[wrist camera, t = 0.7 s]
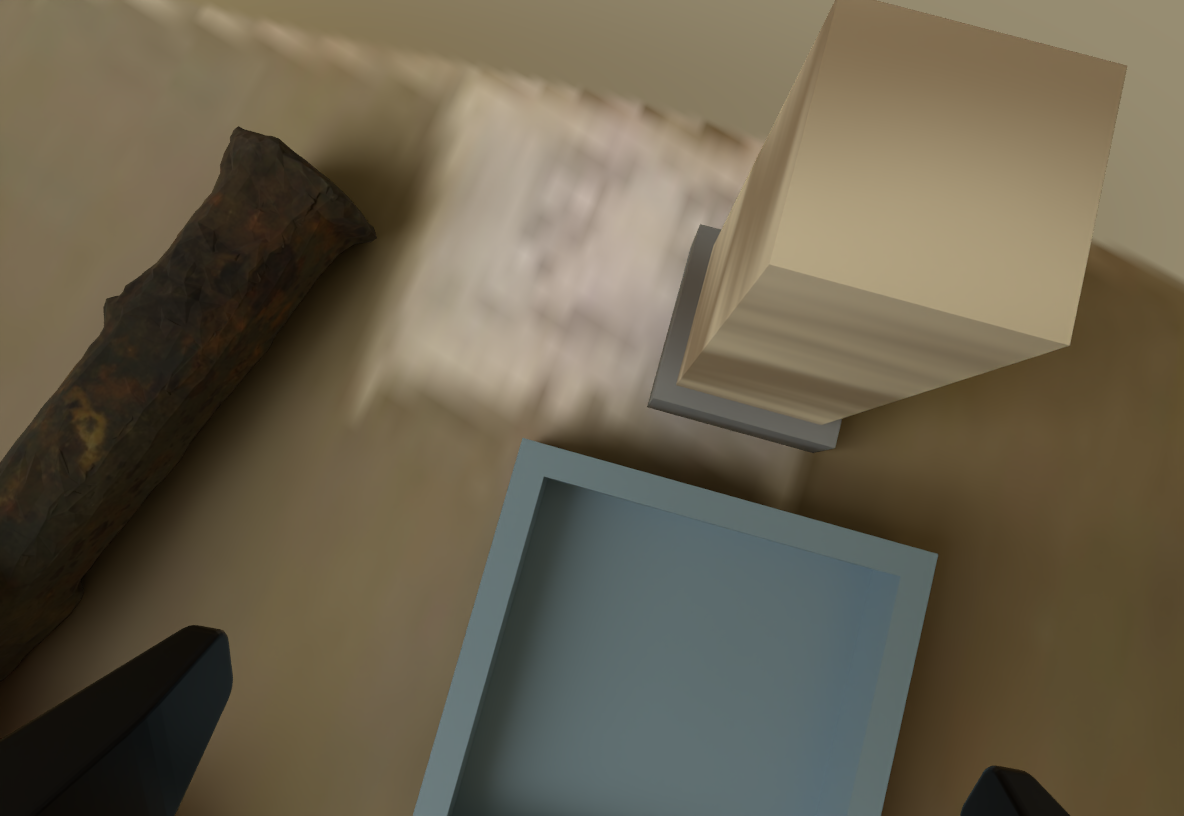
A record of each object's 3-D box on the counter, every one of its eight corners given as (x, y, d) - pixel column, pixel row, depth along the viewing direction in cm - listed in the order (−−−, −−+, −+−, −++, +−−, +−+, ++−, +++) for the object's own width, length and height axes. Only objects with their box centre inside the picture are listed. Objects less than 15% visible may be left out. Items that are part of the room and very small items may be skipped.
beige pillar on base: (812, 452, 22) (1100, 392, 10) (647, 406, 22) (722, 290, 10) (851, 292, 23) (1170, 42, 10) (690, 248, 23) (812, -51, 10)
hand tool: (292, 163, 23) (217, 80, 19) (393, 239, 23) (342, 174, 18) (-137, 671, 22) (-336, 717, 17) (-33, 760, 21) (-207, 833, 17)
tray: (808, 946, 20) (838, 1007, 18) (418, 831, 21) (395, 876, 18) (898, 548, 22) (938, 553, 19) (530, 444, 22) (523, 437, 20)
